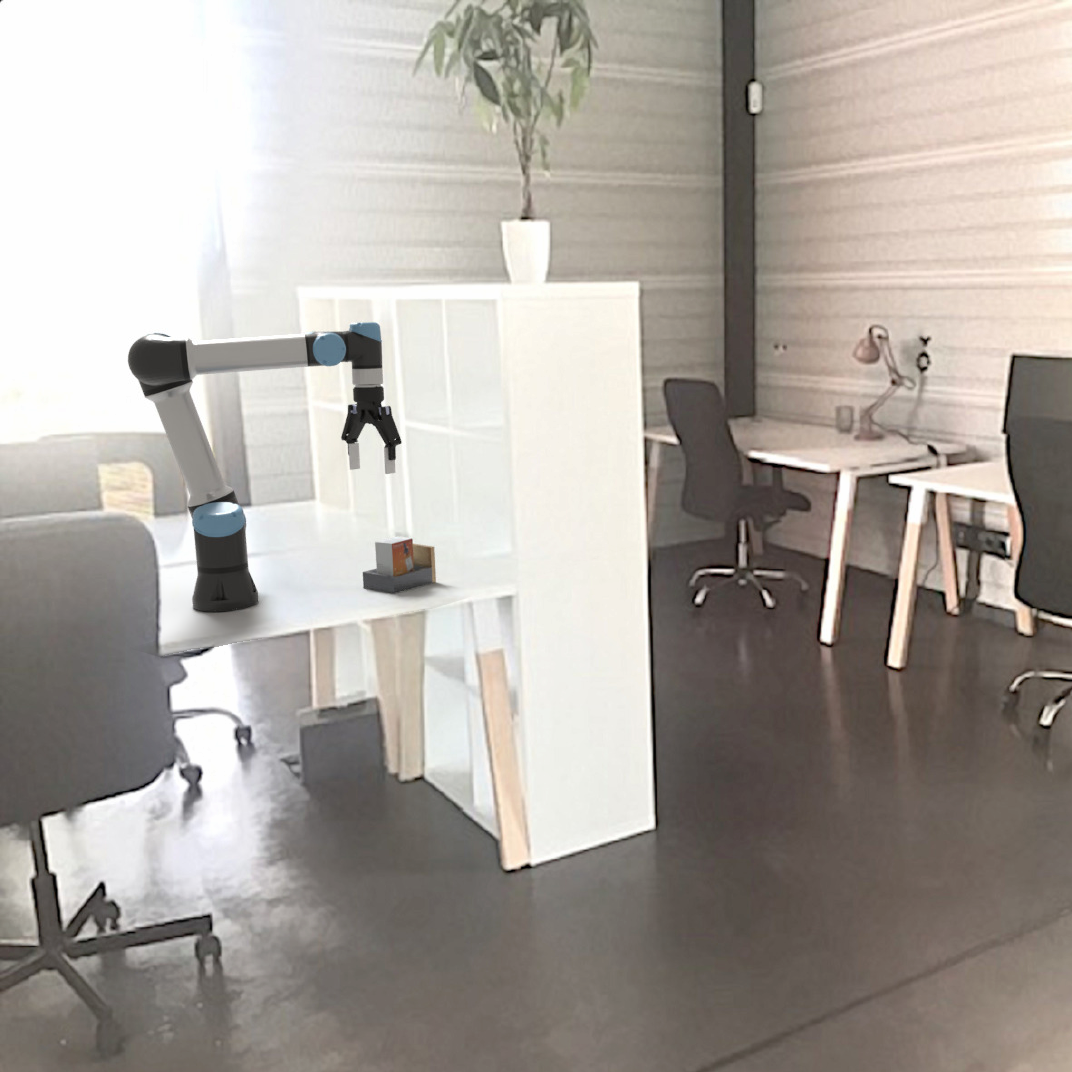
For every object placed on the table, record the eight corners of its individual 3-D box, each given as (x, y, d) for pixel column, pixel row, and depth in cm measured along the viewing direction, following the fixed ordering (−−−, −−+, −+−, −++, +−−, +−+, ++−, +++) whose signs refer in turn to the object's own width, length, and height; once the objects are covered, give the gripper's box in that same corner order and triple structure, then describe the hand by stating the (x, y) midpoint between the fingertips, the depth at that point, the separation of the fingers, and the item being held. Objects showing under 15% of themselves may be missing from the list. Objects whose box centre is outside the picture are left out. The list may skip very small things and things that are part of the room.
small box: (393, 586, 288) (391, 543, 286) (376, 583, 291) (374, 541, 289) (415, 579, 294) (413, 537, 292) (398, 576, 297) (396, 535, 295)
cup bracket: (363, 587, 291) (361, 552, 289) (405, 576, 302) (403, 542, 300) (394, 593, 284) (392, 557, 282) (436, 582, 295) (434, 546, 293)
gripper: (413, 386, 286) (417, 473, 290) (347, 383, 302) (352, 465, 306) (389, 388, 280) (393, 477, 285) (324, 385, 297) (329, 469, 301)
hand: (372, 471), depth 296 cm, fingers open, 13 cm apart
